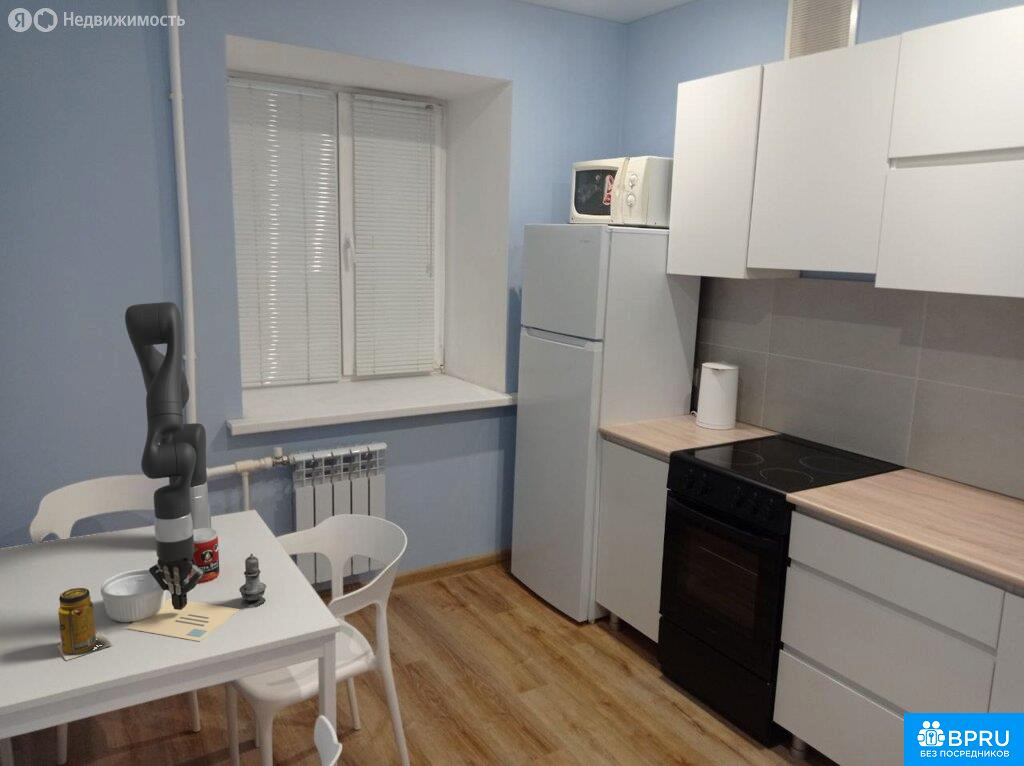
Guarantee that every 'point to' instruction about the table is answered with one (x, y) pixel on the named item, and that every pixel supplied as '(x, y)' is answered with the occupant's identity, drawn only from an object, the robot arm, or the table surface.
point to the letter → (185, 620)
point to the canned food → (206, 553)
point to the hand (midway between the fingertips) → (179, 608)
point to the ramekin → (132, 596)
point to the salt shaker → (252, 584)
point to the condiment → (78, 624)
